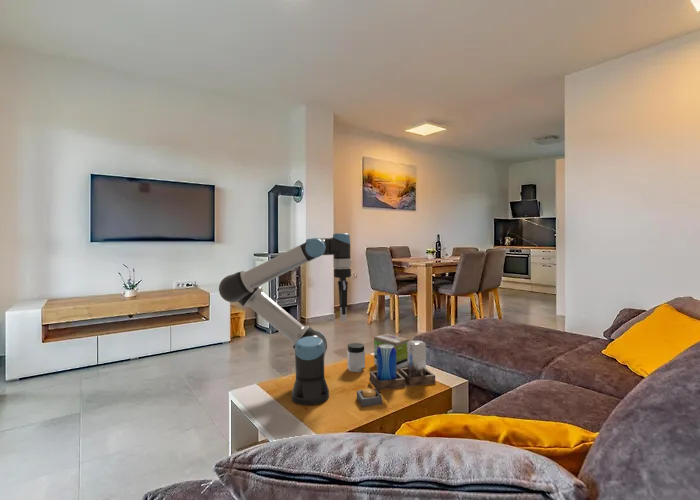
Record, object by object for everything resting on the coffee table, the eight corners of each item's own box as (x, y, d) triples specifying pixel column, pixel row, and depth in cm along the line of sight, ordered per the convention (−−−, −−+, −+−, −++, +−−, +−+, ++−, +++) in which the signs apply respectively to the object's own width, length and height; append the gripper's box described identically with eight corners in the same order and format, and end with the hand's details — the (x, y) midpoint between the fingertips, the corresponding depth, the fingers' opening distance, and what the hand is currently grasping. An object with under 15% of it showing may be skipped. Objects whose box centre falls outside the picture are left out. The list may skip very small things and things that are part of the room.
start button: (364, 402, 139) (364, 394, 139) (361, 396, 144) (361, 389, 144) (377, 400, 140) (377, 393, 140) (373, 395, 145) (373, 387, 145)
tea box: (373, 365, 182) (373, 336, 182) (386, 360, 189) (386, 332, 189) (396, 373, 171) (395, 342, 171) (409, 367, 178) (409, 338, 177)
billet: (412, 383, 155) (411, 346, 155) (404, 376, 163) (404, 341, 163) (428, 381, 157) (428, 344, 157) (421, 374, 165) (420, 339, 165)
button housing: (362, 407, 137) (362, 399, 137) (356, 398, 145) (356, 390, 145) (382, 404, 139) (382, 396, 139) (375, 395, 147) (375, 388, 147)
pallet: (379, 393, 149) (379, 382, 148) (369, 380, 162) (369, 371, 162) (436, 386, 155) (436, 376, 155) (422, 374, 168) (422, 365, 168)
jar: (366, 371, 173) (366, 347, 173) (350, 373, 171) (349, 348, 171) (362, 365, 182) (361, 342, 182) (346, 367, 180) (345, 343, 180)
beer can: (395, 387, 151) (395, 349, 151) (375, 385, 153) (375, 348, 153) (397, 379, 160) (397, 343, 159) (378, 378, 161) (378, 342, 161)
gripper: (353, 269, 152) (354, 324, 153) (348, 266, 165) (349, 317, 166) (335, 269, 151) (336, 325, 152) (332, 267, 164) (333, 318, 165)
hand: (343, 321), depth 159 cm, fingers closed
